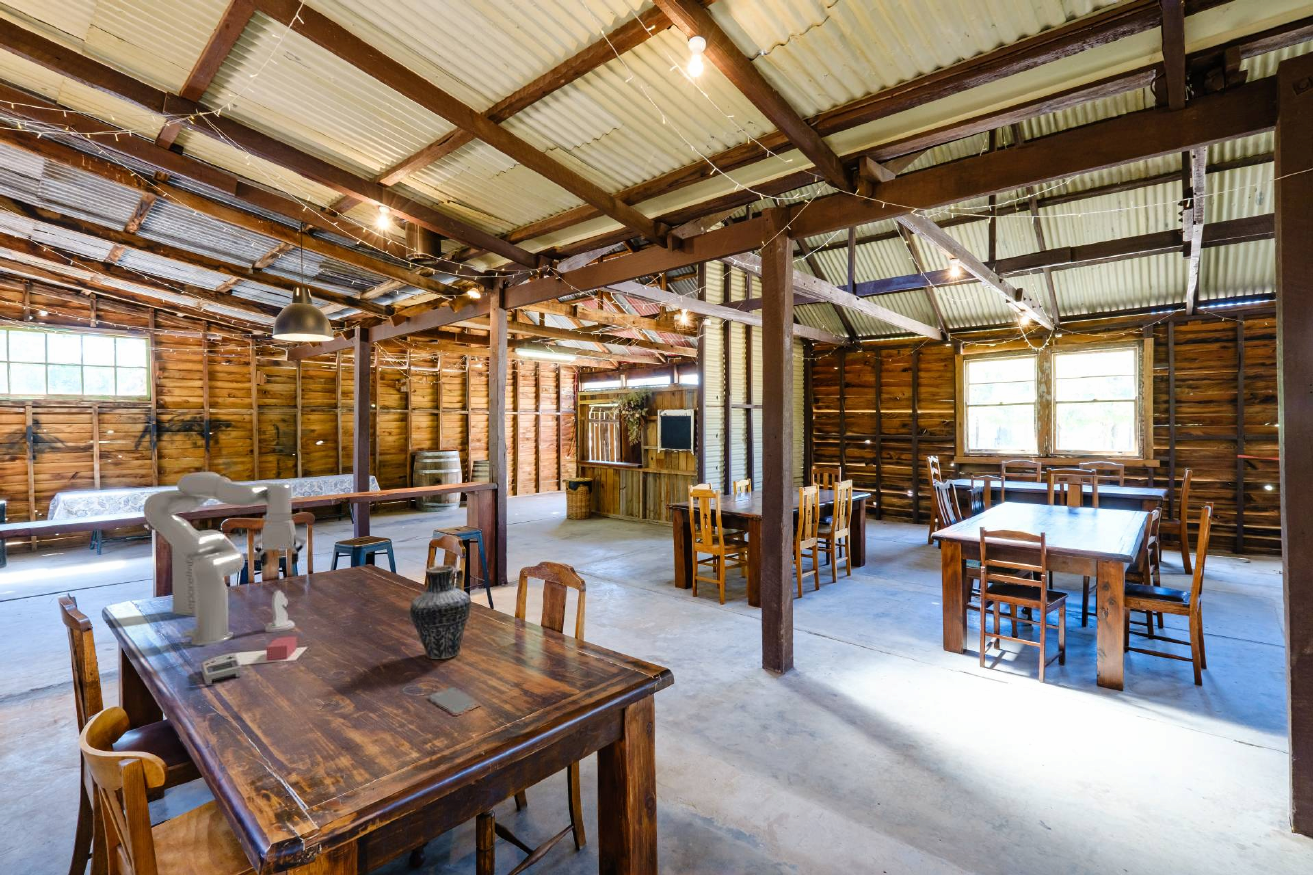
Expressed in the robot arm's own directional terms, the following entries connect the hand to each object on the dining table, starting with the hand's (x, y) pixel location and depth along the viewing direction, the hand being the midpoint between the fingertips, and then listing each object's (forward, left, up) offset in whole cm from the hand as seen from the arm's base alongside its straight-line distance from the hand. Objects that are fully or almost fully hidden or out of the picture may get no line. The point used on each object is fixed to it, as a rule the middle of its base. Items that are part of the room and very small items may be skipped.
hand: (279, 564), depth 212 cm
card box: (+6, -16, -28) cm, 33 cm away
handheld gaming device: (-7, -29, -28) cm, 41 cm away
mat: (+1, -16, -28) cm, 33 cm away
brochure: (-50, +48, -28) cm, 75 cm away
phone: (+67, -66, -29) cm, 98 cm away
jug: (+59, -28, -28) cm, 71 cm away
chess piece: (-6, +17, -29) cm, 34 cm away
